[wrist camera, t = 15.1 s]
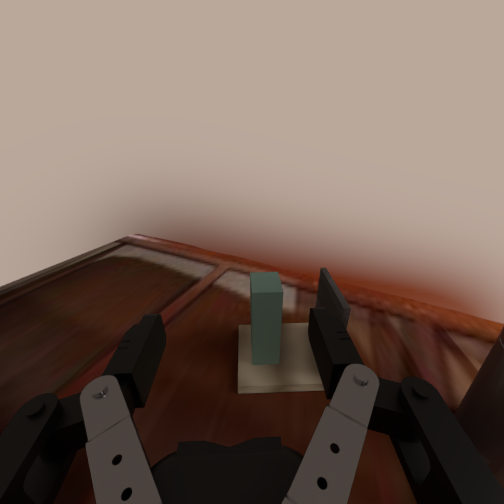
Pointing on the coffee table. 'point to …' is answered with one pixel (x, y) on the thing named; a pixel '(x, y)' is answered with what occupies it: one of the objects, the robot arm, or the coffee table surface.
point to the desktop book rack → (290, 350)
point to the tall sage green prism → (266, 317)
